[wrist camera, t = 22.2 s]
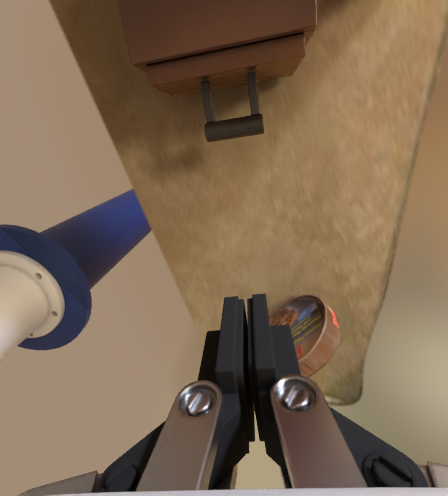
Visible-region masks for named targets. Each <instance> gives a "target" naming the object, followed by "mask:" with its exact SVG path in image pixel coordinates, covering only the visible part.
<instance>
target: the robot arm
mask: <svg viewBox="0 0 448 496" xmlns="http://www.w3.org/2000/svg"><path fill="white" fill-rule="evenodd" d="M247 307H248V325H247V318H246V312H245V305H244V300H243V299H240V300H239V298H238V296H235V297H225V298H224V305H223V313H222V320H221V328H220V330H217V331H208V332H207V335H206V340H205V346H204V351H203V356H202V361H201V366H200V372H199V376H198V381H196V382H192V383H190V384H188V385H187V386H185V387H184V388H183V389H182V390H181V391H180V392H179V393H178V395H177V397H176V399H175V401H174V403H173V406H172V408H171V410H170V412H169V415H168V417H167V419H166V421H165V422H163V423H162V424H161V425H160V426H158V427H157V428H156V429H155V430H153V431H152V432H151V433H150V434H148V435H147V436H146V437H145V438H143V439H142V440H141V441H140V442H138V443H137V444H136V445H134V446H133V447H132V448H131V449H129V450H128V451H127V452H126V453H125V454H123V455H122V456H121V457H119V458H118V459H117V460H116V461H115V462H113V463H112V464H111V465H110V466H109V467H108V468H107V469H106V470H105V471H104V473H102V474H98V472H97V471H93V472H89V473H86V474H82V475H79V476H75V477H72V478H68V479H65V480H61V481H57V482H54V483H50V484H47V485H44V486H40V487H36V488H33V489H30V490H27V491H25V492H23V493H21V494H20V495H18V496H448V465H444V464H439V463H434V462H427V466H425V465H420V464H415V463H414V462H413V461H412V460H411V459H410V458H408V457H407V456H406V455H405V454H403V453H402V452H400V451H398V450H397V449H395V448H394V447H392V446H391V445H389V444H387V443H386V442H384V441H383V440H381V439H380V438H378V437H376V436H375V435H373V434H372V433H370V432H369V431H367V430H365V429H364V428H362V427H361V426H359V425H358V424H356V423H354V422H353V421H351V420H350V419H348V418H346V417H345V416H343V415H342V414H340V413H338V412H337V411H335V410H334V409H332V408H331V407H329V406H328V404H327V402H326V400H325V398H324V396H323V394H322V392H321V390H320V388H319V387H318V385H317V384H316V383H315V382H314V381H312V380H311V379H310V378H307V377H305V376H302V375H301V371H300V367H299V363H298V358H297V354H296V350H295V346H294V341H293V337H292V333H291V329H290V325H289V324H287V325H275V326H270V324H269V317H268V309H267V301H266V293H265V294H255V295H252V298H250V299H247ZM64 310H65V302H64V297H63V293H62V290H61V288H60V287H59V285H58V283H57V281H56V280H55V279H54V277H53V276H52V275H51V274H50V273H49V272H48V270H47V269H46V268H44V267H43V266H42V265H41V264H39V263H38V262H37V261H35V260H33V259H31V258H30V257H28V256H25V255H23V254H20V253H17V252H13V251H4V250H0V361H1V360H2V359H3V358H4V357H6V356H7V355H8V354H9V353H10V352H11V351H12V350H13V349H15V348H16V347H17V346H18V345H19V344H20V343H21V342H22V341H23V340H25V339H26V338H36V337H41V336H44V335H46V334H48V333H49V332H51V331H52V330H53V329H54V328H55V327H56V326H58V324H59V323H60V322H61V320H62V318H63V315H64ZM254 408H255V414H256V420H257V427H258V433H259V439H260V441H265V447H266V453H267V455H268V456H269V457H271V458H272V459H273V460H274V461H275V462H276V463H277V464H278V465H279V466H280V472H281V477H282V480H283V485H284V489H241V490H240V489H237V490H235V484H236V478H237V463H238V462H239V461H240V460H241V459H242V458H243V457H244V456H245V455H246V453H247V454H248V453H249V442H253V441H255V428H254V427H255V426H254Z"/></svg>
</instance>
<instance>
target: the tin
mask: <svg viewBox="0 0 448 496" xmlns="http://www.w3.org/2000/svg"><path fill="white" fill-rule="evenodd" d="M269 324H270V326H275V325H287V324H289V325H290V329H291V333H292V337H293V341H294V346H295V350H296V354H297V358H298V363H299V367H300V371H301V375H302V376H305V377H307V378H309V377H310V376H312V375H313V374H315V373H316V372H317V371H319V370H320V369H321V368H323V367H324V366H325V365H326V364H327V362H328V361H329V360H330V359H331V357H332V356H333V354H334V352H335V350H336V348H337V346H338V343H339V339H340V334H341V333H340V325H339V321H338V318H337V316H336V314H335V313H334V312H333V311H332V310H331V309H330V308H329V307H328V306H327V305H326V304H324V302H323V301H322V300H321V299H320V298H319V297H317V296H315V295H302V296H299V297H297V298H295V299H293V300H291V301H290V302H288V303H287V304H286V305H284V306H283V307H282V308H281V309H280V310H278V311H277V312H276V313H275V314H274V315H272V316H271V317H270V318H269ZM254 411H255V408H254Z"/></svg>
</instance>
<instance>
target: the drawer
mask: <svg viewBox="0 0 448 496" xmlns="http://www.w3.org/2000/svg"><path fill="white" fill-rule="evenodd" d="M304 57H305V34H304V33H302V34H297V35H293V36H288V37H285V36H281V37H276V38H271V39H267V40H262V41H257V42H252V43H247V44H242V45H238V46H233V47H228V48H223V49H218V50H214V51H209V52H204V53H199V54H194V55H189V56H185V57H180V58H175V59H170V60H172V61H167V62H162V63H157V64H152V65H148V66H146V69H147V74H148V78H149V83H150V86H152V87H154V88H156V89H158V90H161V91H163V92H165V93H168V94H170V95H172V96H174V97H179V96H184V95H189V94H195V93H200V92H202V95H203V101H204V108H205V114H206V120H207V123H205V126H204V127H205V135H206V139H207V142H214V141H220V140H226V139H233V138H239V137H245V136H251V135H258V134H263V133H264V127H263V117H262V114H259V104H258V94H257V83H256V82H259V81H264V80H270V79H275V78H280V77H286V76H291V75H293V73H294V72H295V70H296V69H297V67H298V66H299V64H300V63H301V61H302V60H303V58H304ZM243 84H248V88H249V98H250V107H251V116H245V117H239V118H233V119H227V120H222V121H216V122H215V116H214V109H213V102H212V96H211V90H216V89H222V88H227V87H232V86H238V85H243Z"/></svg>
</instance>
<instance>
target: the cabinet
mask: <svg viewBox="0 0 448 496" xmlns="http://www.w3.org/2000/svg"><path fill="white" fill-rule="evenodd" d="M118 5H119V9H120V14H121V18H122V22H123V27H124V31H125V35H126V40H127V44H128V48H129V53H130V57H131V62H132V64H133V65H134V66H137V67H138V68H140V69H142V70H144V71H145V72H147V69H146V66H148V65H152V64H157V63H162V62H167V61H172V60H170V59H175V58H180V57H185V56H189V55H194V54H199V53H204V52H209V51H214V50H218V49H223V48H228V47H233V46H238V45H242V44H247V43H252V42H257V41H262V40H267V39H271V38H276V37H281V36H285V37H288V36H293V35H297V34H302V33H304V34H305V45H306V44H307V42H308V40H309V39H310V37H311V35H312V33H313V32H314V30H315V28H316V27H317V0H118Z"/></svg>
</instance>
